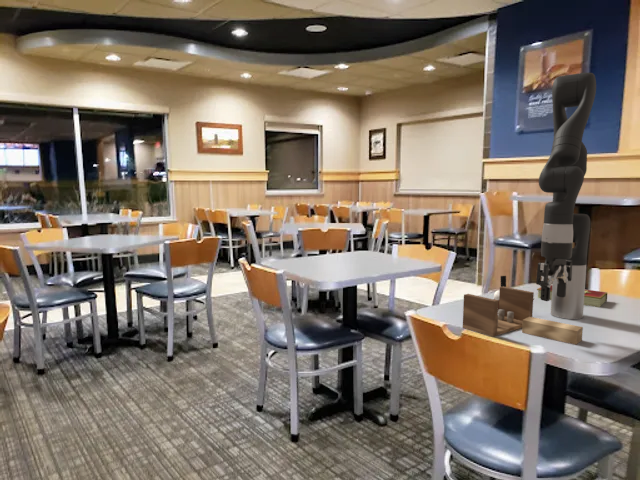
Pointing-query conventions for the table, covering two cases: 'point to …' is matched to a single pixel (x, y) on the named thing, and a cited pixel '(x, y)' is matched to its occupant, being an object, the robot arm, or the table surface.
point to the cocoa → (496, 294)
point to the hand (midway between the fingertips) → (553, 298)
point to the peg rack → (497, 311)
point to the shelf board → (552, 330)
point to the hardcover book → (587, 297)
